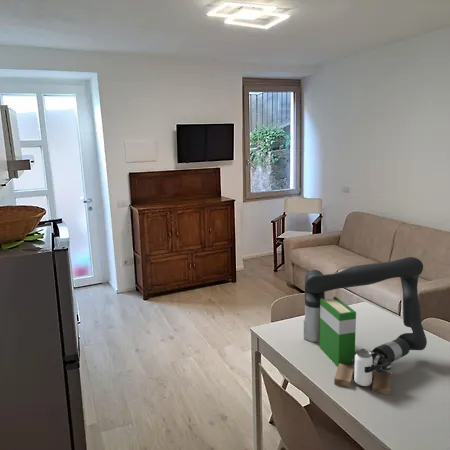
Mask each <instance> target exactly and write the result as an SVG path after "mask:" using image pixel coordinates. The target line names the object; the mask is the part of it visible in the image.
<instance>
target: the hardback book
mask: <svg viewBox="0 0 450 450" xmlns="http://www.w3.org/2000/svg"><path fill="white" fill-rule="evenodd" d="M356 324H357V311H356V310H354V309H353V308H352V307H350V306H349V305H347V304H346V303H345V302H344V301H342V300H341V299H339V298H338V297H337V296H333V298H330V299H329V298H328V299H325V300H324V299H323V298H320V342H319V349H320V350H321V351H322V352H323V353H324V354H325V355H326V357H327V358H328V359H330V361H331V360H332V363H333V364H334V365H335V366H336V367H337V368H338V365H339V363H342V364H348V365H352V364H351V360H352V359H353V358H355V353H356V330H357V329H356V327H357V325H356Z"/></svg>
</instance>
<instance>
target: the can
mask: <svg viewBox="0 0 450 450" xmlns="http://www.w3.org/2000/svg"><path fill="white" fill-rule="evenodd" d="M370 352H371V351H369V350H367V349H365V350H361V349H359V350H357V351H355V353H356V355H355V365H354V366H355V371H354V379H353V381H354V382H355V383H356V384H357V385H359V386H362V387H368V386H370V385H371V384H373V380H372V371H371V372H368V373H365V367H369V366H370V367H371V365H373V358H372V354H371V353H370Z"/></svg>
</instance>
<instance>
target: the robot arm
mask: <svg viewBox="0 0 450 450" xmlns="http://www.w3.org/2000/svg"><path fill="white" fill-rule="evenodd" d="M423 271H424V264H423V262H422V260H420V259H419V258H417V257H415V256H414V257H413V256H407V257H404V258H400V259H395V260H390V261H387V262H375V263H368V264H360V265H354V266H350V267H348V268H345V269H343V270H340V271H338V272H335V273H330V274H323V272H321V271H320V270H318V269H312V270H309V271H308V272H307V273H306V274H305V276H304V320H303V339H304V340H306V341H309V342H311V343H320V298H323V299H324V300H326V297H325V295H326V294H325V293H326V292H330V291H333V290H337V289H346V288H347V289H348V288H354V287H355V288H356V287H363V286H369V285H374V284H376V283H378V284H379V283H381V282H383V281H386V280H389V279H393V278H400V282H401V289H402V320H403V321H402V322H403V325H404V326H405V327H407V328H410V329H411V332H405V333H402V334H400V335H399V336H397V338H395V339H392V340H391V341H388V342H385V343H383V344H380V345H378V346H376V347H374V348H373V349H372V350H371V351H369V352H370V353H371V354H372V358H373V365H371V367H370V366H369V367H365V373H368V372H371V371H376V370H377V372H379V373H380V372H383V371H386V372H388V371H389V370H391V367H392V364H393V363H394V362H396V361H398V360H399V359H401V358H403V357H405V356H407V355H408V354H409V353H410V351H423V350H425V349H426V348H427V345H428V340H427V337H426V333H425V330H424V326H423V323H422V311H421V310H422V309H421V303H420V300H419V293H418V283H419V277H420V275H421V274H422V273H423ZM360 350H366V349H365V348H361V349H360ZM355 355H356V352H355ZM351 364H352V365H353V366H355V358H353V359H352V360H351Z"/></svg>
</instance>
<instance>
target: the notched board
mask: <svg viewBox="0 0 450 450" xmlns="http://www.w3.org/2000/svg"><path fill="white" fill-rule="evenodd" d="M354 371H355V365H348V364H342V363H339V365H338V367H337V369H336V372H335V376H334V383H333V384H334V385H337V386H342V387H345V388H351V386H352V381H353V377H354ZM391 381H392V372H391V371H383V372H380V373H379V372H377V370H376V371H372V389H371V392H372V393H375V394H381V395H385V396H390V395H391Z"/></svg>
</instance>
